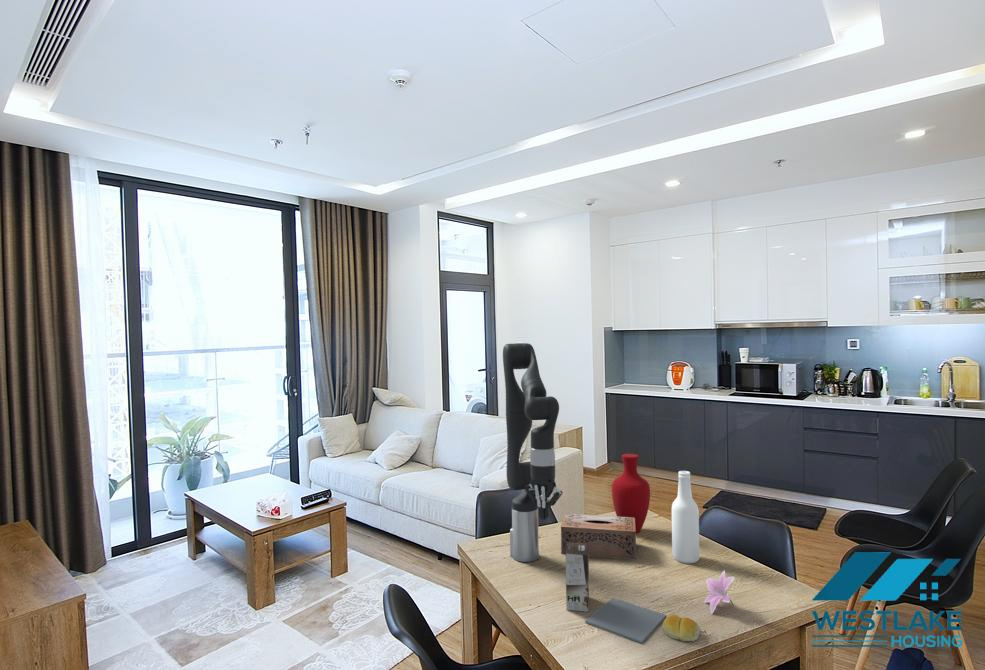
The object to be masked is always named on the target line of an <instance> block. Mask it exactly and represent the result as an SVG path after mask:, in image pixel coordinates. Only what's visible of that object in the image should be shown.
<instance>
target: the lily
mask: <svg viewBox="0 0 985 670" xmlns="http://www.w3.org/2000/svg"><path fill="white" fill-rule="evenodd" d="M734 580H735V576H728V577H726V571H725V570H722V572H721V574H720V575H719V578H718V579H716V578H712V577H709V578H707V579H706V586H707V589H708V591H709V593H708V594H707V596H706V597H705V599H704V602H703V603H704V604H705V603H709V613H710V615H713V614H714V611H715V609H716V607H717V606H718V604H719V603H720V602H723V603H731V605H732V607H733V606H735V605H734V603H733V601H732V599H730V596H729V594H728V591H727V590H728V588H729V587H730V586H731V584H732V583H733V581H734Z"/></svg>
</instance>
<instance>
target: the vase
mask: <svg viewBox="0 0 985 670" xmlns="http://www.w3.org/2000/svg"><path fill="white" fill-rule="evenodd" d="M621 459H622V463H623V464H622V465H623V472H622V473H621V475H620V476H618V477H616V478H615V479H613V481H612V483H611V496H612V504H613V507H614V511H615V516H618V517H634V518H635V529H636V534H640V533H641V531H642V529H643V526H644V524H645V521H646V519H647V515H648V512H649V507H650V501H651V487H650V484H649V482H648V480H646V479H644V477H642V476H640V474H639V473H638V462H639V454H635V453H624V454H622V455H621Z"/></svg>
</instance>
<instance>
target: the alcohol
mask: <svg viewBox="0 0 985 670" xmlns="http://www.w3.org/2000/svg"><path fill="white" fill-rule="evenodd" d="M677 473H678V475H677V476H678V484H677V496H676V497H675V499H674V501H672V503H671V550H672V554H671V555H672V557H673V559H674V560H675V561H676V562H678V563H682V564H687V565H688V564H689V565H690V564H691V565H692V564H696V563H697V562H698V561H700V518H699V517H700V515H699V513H700V512H699V507H698V503H697V502H696V501H695V500H694V498H693V495H692V494H693V493H692V485H691V483H692V481H691V472H690V471H688V470H679V471H678V472H677Z"/></svg>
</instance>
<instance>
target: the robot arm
mask: <svg viewBox="0 0 985 670" xmlns="http://www.w3.org/2000/svg"><path fill="white" fill-rule="evenodd" d="M502 365H503V373H504V375H503V376H504V386H505V422H506V423H505V424H506V440H507V443H506V444H507V448H506V449H507V451H506V454H507V455H506V482H507V486H508V487H509V489H510V490H512V491H521V490H522V492H521V493H520V494H519V495H517V496H515V497H514V498H513V499H512V501H511V528H510V529H509V545H510V547H509V549H510V553H509V556H510V557H512V558H513V559H514V560H516V561H517V562H523V563H524V562H525V563H528V562H529V563H530V562H535V561H537V559H539V557H540V554H539V553H540V550H539V549H540V548H539V543H540V542H539V541H540V540H539V520H542V521H546V520H547V519H548V518H549V516H550V515H549V513H550V512H549V511H550V508H551V507H553V506H554V505H555V504H557V502H558V501H559V499H560V498H561V496H562V495H563V493H564V492H563V491H562V490H559V489H558V488H557V484H556V481H555V479H556V454H555V437H554V436H555V430H556V424H557V420H558V417H559V413H560V405H559V404H560V403H559V401H558V399H557V398H556V397H554V396H547V394H548V393H547V390H546V389H547V388H546V387H545V385H544V383H543V380H542V378H541V374H540V369H539V364H538V360H537V356H536V352H535V349H534V347H533V345H532V344H531V343H527V342H526V343H524V342H520V343H506V344H505V345H503V349H502ZM515 370H526V371H525V372H524V373H523V375H522V377H521V380H520V385H519V383H518V382H517V379H516V375H515ZM533 421H545V422H544V423H543V424H542V425H540V426H537V427H533V428H532V426H533ZM529 433H530V452H529V453H530V456H529V459H530V460H529V461H524V462H523V461H522V462H521V461H520V454H521V452H522V451H521V450H522V447H523V445H524V443H525V441H526V439H527V437H528V436H529Z"/></svg>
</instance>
